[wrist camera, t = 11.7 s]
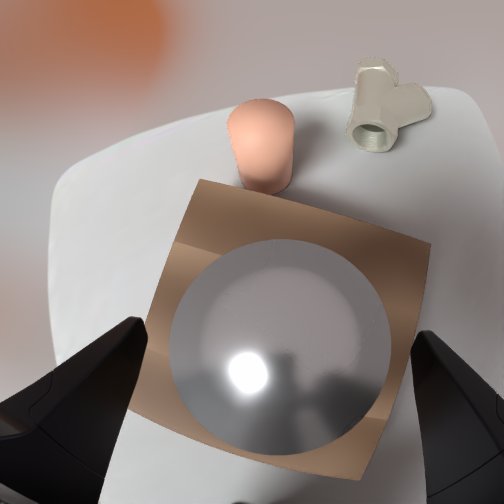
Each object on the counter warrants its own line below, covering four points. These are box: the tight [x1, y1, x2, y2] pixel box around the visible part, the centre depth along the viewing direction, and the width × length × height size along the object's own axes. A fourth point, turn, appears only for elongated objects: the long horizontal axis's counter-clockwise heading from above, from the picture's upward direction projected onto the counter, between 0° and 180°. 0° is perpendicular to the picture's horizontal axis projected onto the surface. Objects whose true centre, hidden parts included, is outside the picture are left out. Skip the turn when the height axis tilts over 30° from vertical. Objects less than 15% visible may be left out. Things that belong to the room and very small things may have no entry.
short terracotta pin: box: [227, 99, 295, 195], centre depth 17 cm, size 4×4×6 cm
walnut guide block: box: [128, 179, 431, 480], centre depth 15 cm, size 13×13×4 cm
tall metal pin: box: [169, 239, 391, 455], centre depth 11 cm, size 4×4×13 cm
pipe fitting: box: [345, 58, 432, 152], centre depth 19 cm, size 8×4×7 cm
